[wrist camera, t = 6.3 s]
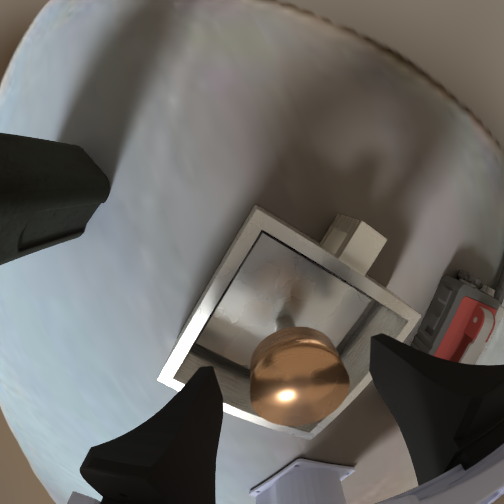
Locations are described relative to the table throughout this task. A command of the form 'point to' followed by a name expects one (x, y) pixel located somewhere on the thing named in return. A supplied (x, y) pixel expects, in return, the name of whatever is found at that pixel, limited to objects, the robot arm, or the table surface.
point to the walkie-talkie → (460, 319)
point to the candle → (45, 194)
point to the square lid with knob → (286, 332)
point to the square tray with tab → (349, 349)
